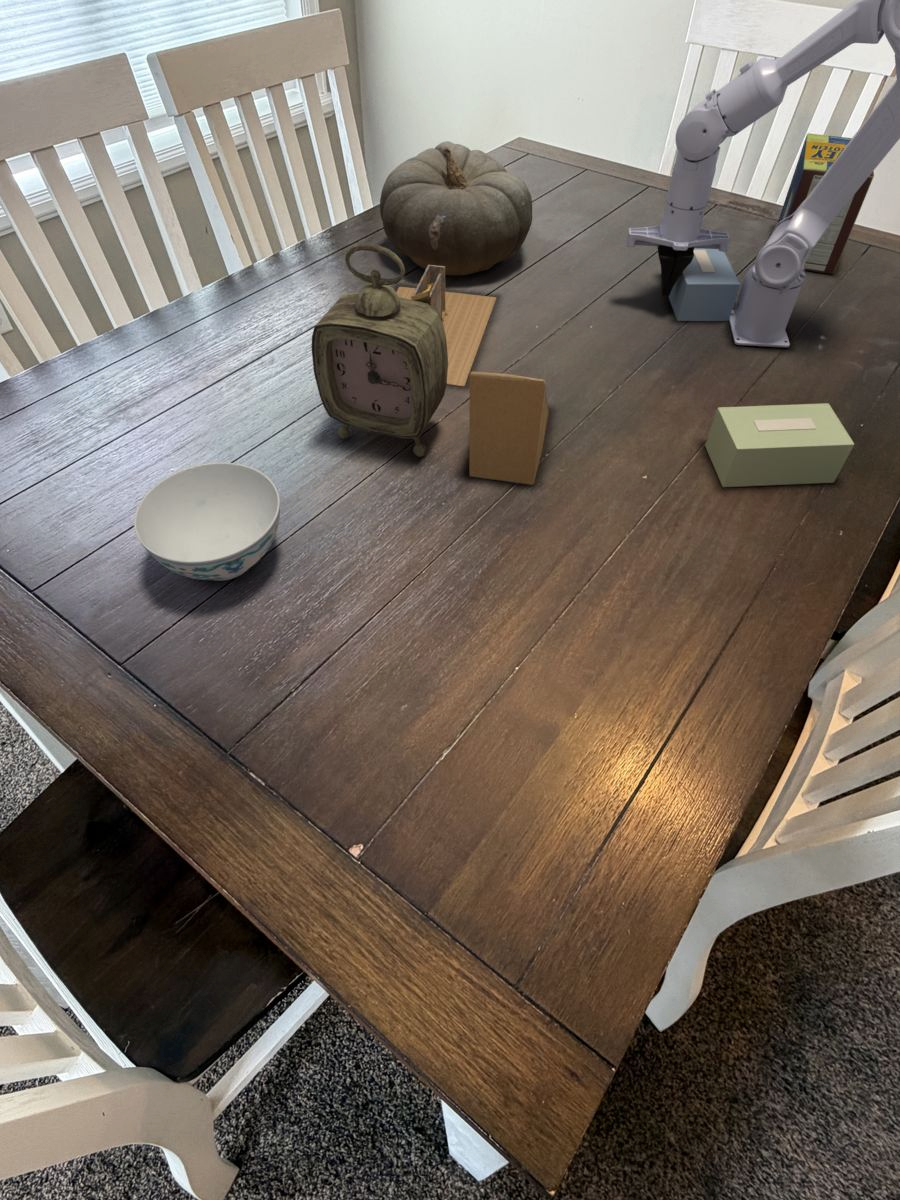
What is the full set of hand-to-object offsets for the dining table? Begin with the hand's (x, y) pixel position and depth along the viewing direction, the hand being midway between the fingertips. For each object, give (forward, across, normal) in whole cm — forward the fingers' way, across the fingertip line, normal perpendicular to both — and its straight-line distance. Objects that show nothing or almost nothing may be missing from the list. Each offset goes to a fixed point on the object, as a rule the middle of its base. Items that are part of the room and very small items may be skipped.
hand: (664, 293), depth 114 cm
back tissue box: (+2, +5, +4) cm, 7 cm away
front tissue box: (+2, +11, -37) cm, 38 cm away
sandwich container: (+3, -22, -36) cm, 42 cm away
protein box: (+3, +26, +22) cm, 34 cm away
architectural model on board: (+3, -36, -11) cm, 38 cm away
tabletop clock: (+3, -38, -36) cm, 52 cm away
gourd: (+3, -34, +14) cm, 37 cm away
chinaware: (+3, -53, -60) cm, 80 cm away
